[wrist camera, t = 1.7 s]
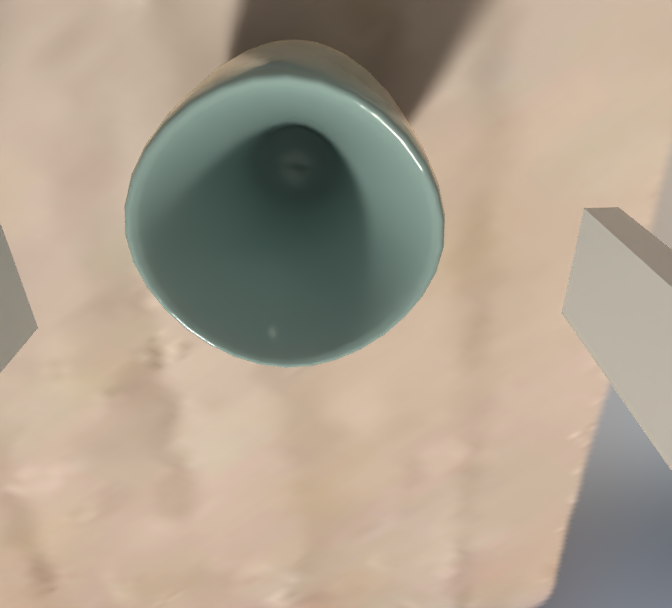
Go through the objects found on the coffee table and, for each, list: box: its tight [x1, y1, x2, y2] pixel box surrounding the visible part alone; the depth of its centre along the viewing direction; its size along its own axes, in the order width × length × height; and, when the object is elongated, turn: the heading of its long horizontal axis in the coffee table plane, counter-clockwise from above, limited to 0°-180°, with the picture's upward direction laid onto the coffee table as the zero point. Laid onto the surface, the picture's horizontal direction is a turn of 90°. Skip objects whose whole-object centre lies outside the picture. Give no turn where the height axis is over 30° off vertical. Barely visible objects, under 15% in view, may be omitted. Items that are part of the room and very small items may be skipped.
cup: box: [125, 39, 445, 367], centre depth 18 cm, size 8×8×10 cm
